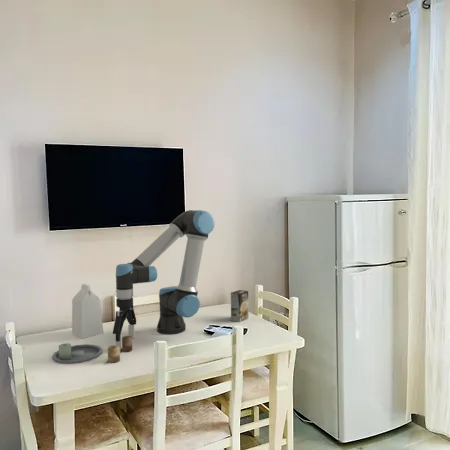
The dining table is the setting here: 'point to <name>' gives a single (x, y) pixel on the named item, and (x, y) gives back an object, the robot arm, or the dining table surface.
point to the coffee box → (239, 305)
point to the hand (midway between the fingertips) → (125, 343)
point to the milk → (86, 314)
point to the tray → (80, 354)
